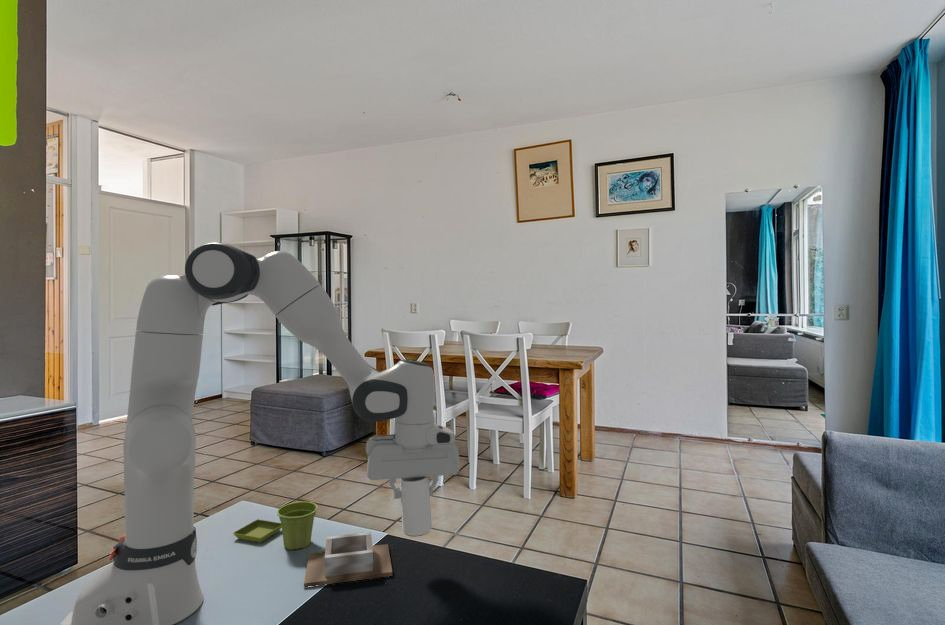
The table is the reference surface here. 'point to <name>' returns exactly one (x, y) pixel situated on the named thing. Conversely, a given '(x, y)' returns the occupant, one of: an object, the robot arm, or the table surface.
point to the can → (415, 506)
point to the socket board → (348, 560)
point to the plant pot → (297, 523)
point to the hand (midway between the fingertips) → (413, 496)
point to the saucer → (258, 530)
